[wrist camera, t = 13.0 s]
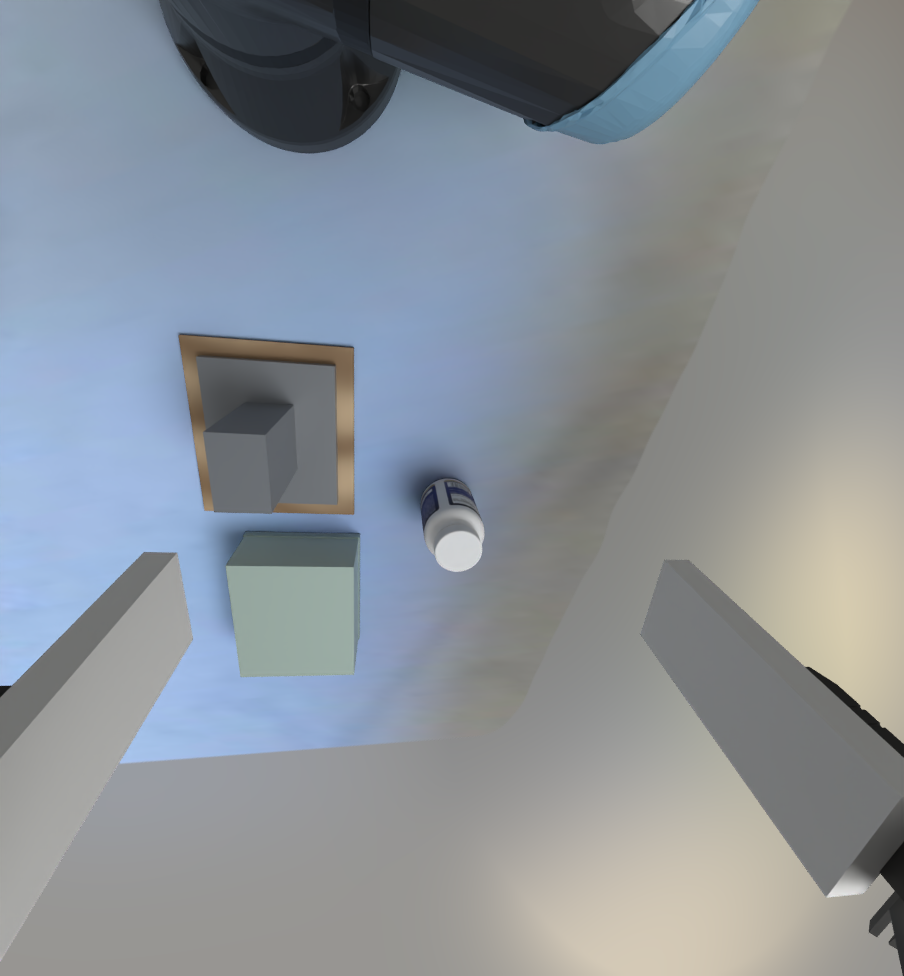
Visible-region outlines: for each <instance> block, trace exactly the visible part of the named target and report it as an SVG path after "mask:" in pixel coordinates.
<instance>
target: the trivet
mask: <svg viewBox="0 0 904 976" xmlns="http://www.w3.org/2000/svg"><path fill="white" fill-rule="evenodd" d="M179 342H180V348H181V355H182V362H183V369H184V375H185V382H186V389H187V395H188V402H189V409H190V415H191V422H192V429H193V435H194V442H195V449H196V456H197V462H198V469H199V476H200V482H201V489H202V496H203V502H204V509H205V511H214V508H213V501H212V494H211V487H210V479H209V472H208V465H207V458H206V451H205V444H204V437H203V432H204V431H205V430H206V427H205V420H204V413H203V405H202V398H201V391H200V383H199V376H198V369H197V362H196V357H197V356H200V355H205V356H219V357H233V358H248V359H262V360H276V361H290V362H305V363H319V364H333V365H336V388H337V446H338V504H337V505H326V504H291V503H278V504H277V506H276V507H275V509H274V511H273V512H276V513H314V514H352V515H354V348H352V347H339V346H325V345H312V344H299V343H286V342H273V341H259V340H246V339H233V338H220V337H206V336H193V335H179Z"/></svg>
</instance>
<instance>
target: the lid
mask: <svg viewBox="0 0 904 976" xmlns="http://www.w3.org/2000/svg"><path fill="white" fill-rule="evenodd" d="M196 362H197V369H198V376H199V383H200V391H201V398H202V405H203V413H204V420H205V427H206V430H205V431H204V432H203V437H204V444H205V451H206V458H207V465H208V472H209V479H210V487H211V494H212V501H213V508H214V512H228V513H266V514H272V513H273V511H274V509H275V507H276V506H277V504H278V503H291V504H326V505H337V504H338V446H337V388H336V365H333V364H319V363H305V362H290V361H276V360H262V359H248V358H233V357H219V356H205V355H200V356H197V357H196Z"/></svg>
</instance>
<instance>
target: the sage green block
mask: <svg viewBox="0 0 904 976" xmlns="http://www.w3.org/2000/svg"><path fill="white" fill-rule="evenodd" d="M243 537H244V538H243V539H242V541H241V542H240V544H239V546H238V547H237V549H236V550H235V552H234V553H233V555H232V557H231V558H230V560H229V561H228V563H227V564H226V573H227V580H228V588H229V595H230V602H231V610H232V617H233V624H234V632H235V639H236V646H237V654H238V661H239V668H240V676H241V677H268V676H315V675H354V670H355V662H356V654H357V645H358V639H359V636H360V534H350V533H301V532H253V531H246V532H245V533H244V535H243Z"/></svg>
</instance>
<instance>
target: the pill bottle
mask: <svg viewBox="0 0 904 976" xmlns="http://www.w3.org/2000/svg"><path fill="white" fill-rule="evenodd" d="M421 515H422V524H423V532H424V539H425V542H426V545H427V547H428V549H429V550H430V551H431V553H432V554H434V555H435V558H436V560H437V562H438V563H439V564H440V566H442V567H443V568H445V569H446V570H449V571H454V572H460V571H465V570H467V569H470V568H471V567H473V566H474V565H475V564H476V563H477V562H478V561H479V559H480V557H481V554H482V542H483V539H484V526H483V523H482V520H481V517H480V515H479V512H478V509H477V507H476V504H475V501H474V499H473V496H472V494H471V491H470V490H469V488H468V487H467V486H466V485H465V484H463V483H462V482H460V481H458V480H455V479H441V480H438V481H435V482H434V483H432V484H431V485H430V486H428V487H427V488H426V490H425V491H424V493H423V495H422V498H421Z"/></svg>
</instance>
